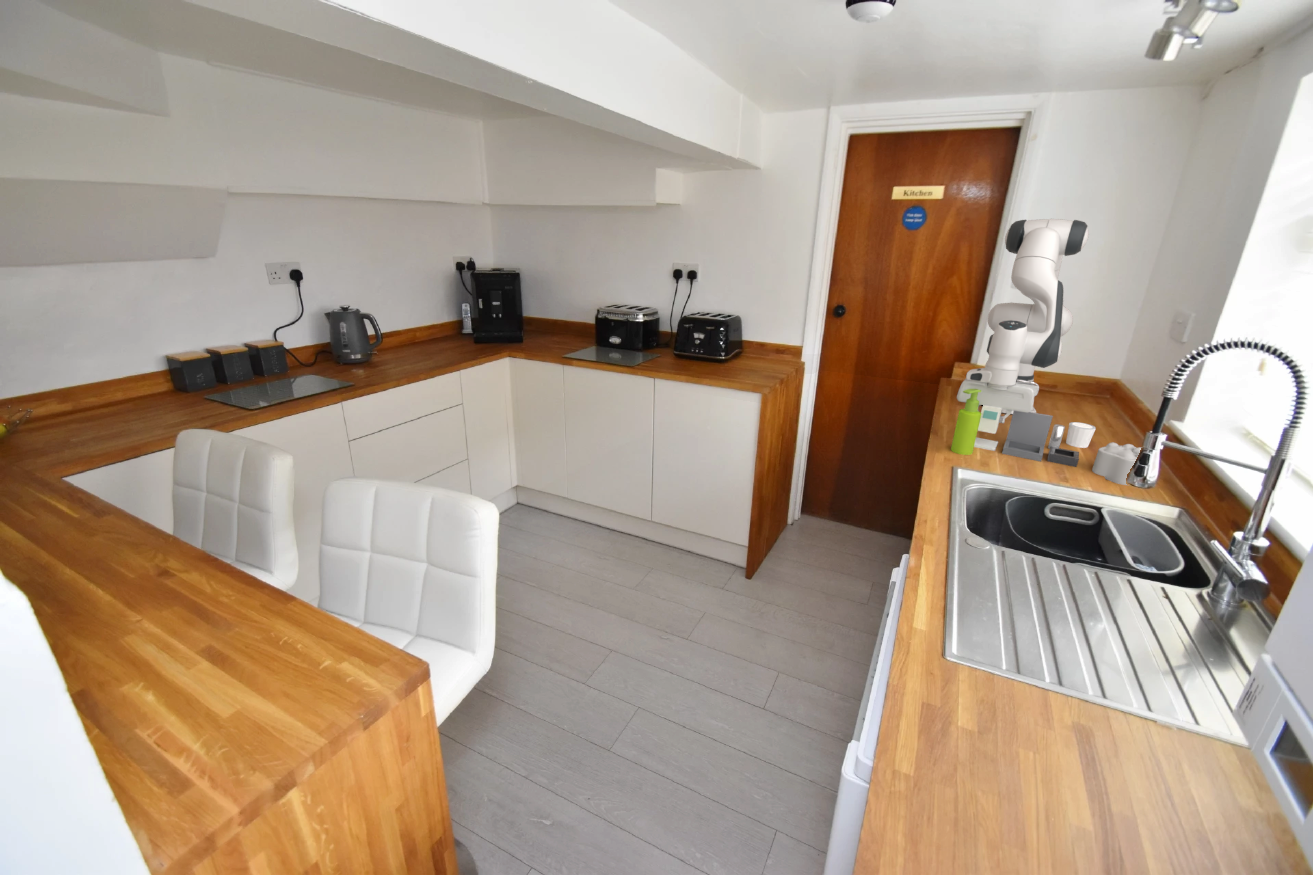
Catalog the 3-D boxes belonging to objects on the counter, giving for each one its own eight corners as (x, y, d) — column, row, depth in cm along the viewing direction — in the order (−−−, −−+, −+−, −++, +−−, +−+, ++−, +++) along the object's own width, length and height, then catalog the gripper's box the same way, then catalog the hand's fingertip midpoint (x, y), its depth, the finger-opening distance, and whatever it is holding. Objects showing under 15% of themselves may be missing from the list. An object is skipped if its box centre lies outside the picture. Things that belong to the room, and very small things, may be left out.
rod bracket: (1047, 455, 172) (1050, 446, 171) (1076, 461, 169) (1078, 451, 168) (1046, 463, 167) (1049, 453, 166) (1075, 468, 163) (1078, 459, 162)
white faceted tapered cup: (1066, 440, 185) (1072, 420, 183) (1091, 446, 181) (1098, 425, 178) (1060, 445, 181) (1067, 425, 178) (1087, 452, 176) (1093, 430, 174)
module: (979, 426, 180) (984, 401, 177) (997, 429, 177) (1003, 404, 174) (976, 430, 176) (982, 405, 173) (995, 434, 173) (1001, 408, 170)
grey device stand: (1004, 445, 180) (1014, 409, 175) (1042, 453, 174) (1052, 415, 170) (1001, 455, 172) (1011, 417, 168) (1040, 463, 167) (1051, 424, 162)
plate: (972, 440, 184) (973, 436, 183) (997, 445, 180) (998, 441, 180) (968, 447, 178) (969, 443, 177) (994, 452, 174) (995, 449, 173)
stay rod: (1047, 447, 179) (1054, 423, 176) (1058, 449, 177) (1065, 425, 174) (1047, 450, 177) (1054, 426, 174) (1057, 452, 175) (1065, 428, 172)
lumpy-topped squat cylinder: (1085, 472, 161) (1094, 443, 158) (1112, 465, 167) (1122, 437, 164) (1126, 487, 153) (1136, 457, 150) (1154, 479, 158) (1164, 450, 155)
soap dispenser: (943, 451, 174) (957, 387, 167) (959, 448, 177) (973, 385, 170) (959, 458, 169) (974, 393, 162) (976, 455, 172) (991, 391, 165)
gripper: (1041, 380, 168) (1029, 424, 173) (964, 369, 179) (955, 411, 183) (1040, 384, 163) (1028, 430, 168) (961, 373, 174) (951, 416, 178)
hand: (989, 420), depth 176 cm, fingers closed on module, 5 cm apart
